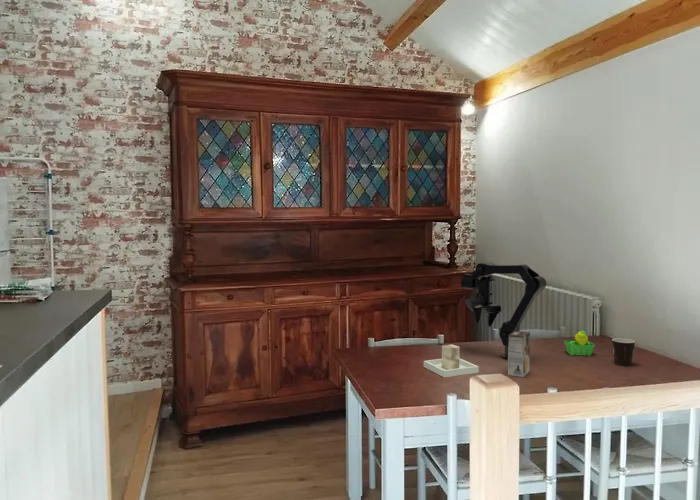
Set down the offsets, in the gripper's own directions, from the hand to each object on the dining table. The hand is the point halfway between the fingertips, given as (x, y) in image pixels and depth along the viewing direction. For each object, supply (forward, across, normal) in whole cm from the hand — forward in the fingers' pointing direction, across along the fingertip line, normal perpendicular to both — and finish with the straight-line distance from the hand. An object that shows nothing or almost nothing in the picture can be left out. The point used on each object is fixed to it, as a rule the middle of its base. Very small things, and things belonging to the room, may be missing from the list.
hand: (483, 324), depth 250 cm
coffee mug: (+13, +39, +41) cm, 58 cm away
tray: (+13, +17, -28) cm, 35 cm away
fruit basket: (+13, +19, +38) cm, 44 cm away
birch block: (+12, +17, -28) cm, 35 cm away
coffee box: (+13, +32, -6) cm, 35 cm away
